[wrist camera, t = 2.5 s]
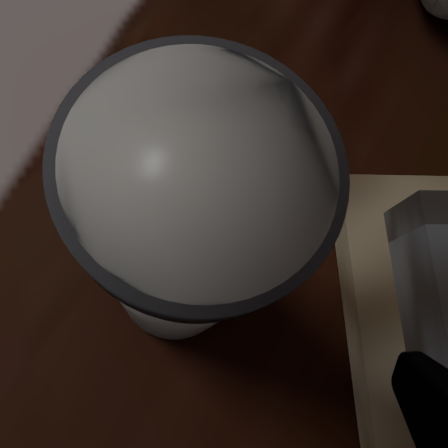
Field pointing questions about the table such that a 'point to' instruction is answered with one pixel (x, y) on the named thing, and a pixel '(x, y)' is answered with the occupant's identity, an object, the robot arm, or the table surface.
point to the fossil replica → (437, 8)
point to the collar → (392, 291)
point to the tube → (195, 181)
